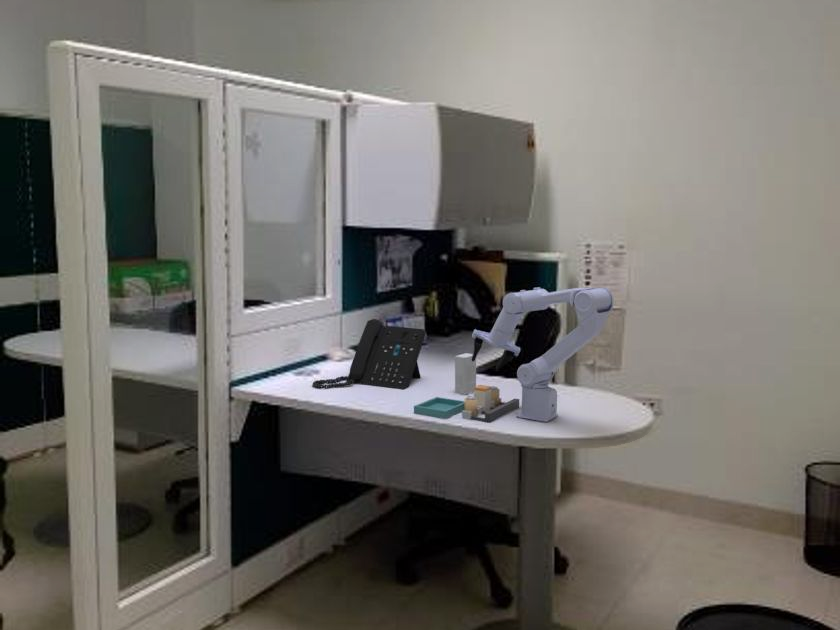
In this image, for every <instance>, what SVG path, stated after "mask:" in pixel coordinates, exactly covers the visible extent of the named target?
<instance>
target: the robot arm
mask: <svg viewBox="0 0 840 630" xmlns="http://www.w3.org/2000/svg"><path fill="white" fill-rule="evenodd" d="M561 303H562V304H563V303H569V304H570V306H571V307H572V308H573V307H574V309H575V313H576V316H577V320H578V324H579V325H577V327H575V328H574V329H572V331H570V332H569V333H568V334H567V335H565V336H564V337H563V338H562V339H560V341H558V342H557V343H556V344H554V345H553V346H552V347H551V348H549V349H548V350H547V351H546V352H545V353H544V354H542V355H541V356H539V357H536V358H535V359H533V360H531V361H530V362H529V363H523V364H521V365H520V366H519V367H518V369H517V371H516V377H517V380H518V381H519V383H520V386H521V412H519V413H518V414H516V415H515V417H516V418H520V419H525V420H526V419H527V420H533V421H539V422H543V423H544V422H545V423H547V422H549V421H551V420H553V419H554V418H556V417H557V416H558V415H559V414H558V413H557V412H558V411H557V410H558V392H557V389H556V388H554V387H550V386H549V385H550V381H551V380H552V379H553V377H554V375H555V373H556V372H557V371H558V370H559V367H560V366H561V365H562V364H563V363H565V362H566V361H568V359H569V358H571V357H572V356H573V355H575V354H576V353H577V352H579V351H580V350H581V349H582V348H584V347H585V346H586V345H587V344H589V343H590V342H592V341H593V340H594V339H595V338H596V337H597V336H599V335H600V334H601V332H602V331H603V329H604V326H605V324H606V322H607V319H608V316H609V314H611V312H613V310H614V298H613V294H612V292H611V290H609V289H608V288H607V287H602V286H601V287H598V288H596V287H573V288H569V289H563V290H557V291H551V292H549V291H547V289H544V288H541V287H540V286H539V287H533V289H532V290H531V289H530V290H526V289H521V290H520V291H519V292H510V293H508V294H505V296H504V297H503V299H502V309H501V311H500V313H499V315H498V316H497V318H496V321H495V322H494V325H493V327H492V329H491V330H490V332H486V331H482V330H479V329H478V330H477V329H476V328H475V329H474V330H473V332H472V334H471V338H472V339H474V340H473V347H474V349H473V353H472V354H473V356H472V361H473V362H474V360H475V358H476V359H477V356H478V354H479V352H480V350H481V349H482V347H483V342H485V343H486V344H489V345H491V346H492V347H495V348H497V349H501V350H504V351H503V352H502V354H501V357H500V359H499V360H498V362H497V364H496V366H495V372H498V371H500V369H501V368H502V367H504V366H505V364H507V363H509V362H511V361H512V360H513V359H514V356H515V357H518V356H519V354H520V352H521V347H520V346H517V345H515V344H514V343H513V342H511V341H509V340H510V339H511V337H512V334H513V333H514V331H515V329H516V327H517V325H518V323H519V321H520V319H521V317H522V316H523V315H524V313H527V312H535V311H536V312H537V311H543V310H546V309H548V308H549V307H550V305H551V304H561Z"/></svg>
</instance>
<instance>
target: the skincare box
mask: <svg viewBox="0 0 840 630" xmlns="http://www.w3.org/2000/svg"><path fill="white" fill-rule="evenodd" d="M472 356H473V353H468V352H467V353H466V352H465V353H462V354H459V355H455V356H454V393H455V394H460V395H464V396H467V395H468V394H471V393H474V387H476V386H477V357H476V358H475V360H474V362H473V361H472Z"/></svg>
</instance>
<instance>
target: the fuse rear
mask: <svg viewBox="0 0 840 630" xmlns="http://www.w3.org/2000/svg"><path fill="white" fill-rule="evenodd" d="M500 392H501V391H500V388H499V387H497V386H491V401H495V407H498V406H500V405H499V398H500Z"/></svg>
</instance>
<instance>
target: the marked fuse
mask: <svg viewBox="0 0 840 630" xmlns="http://www.w3.org/2000/svg"><path fill="white" fill-rule="evenodd" d="M491 387H492V386H490V385H484V384H483V385H482V384H479V385H476V387H474V392H473V396H474V397H475V398H476V399H478V403H477V406H482V407H483V411H487V412H488V411H490V410H491Z"/></svg>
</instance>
